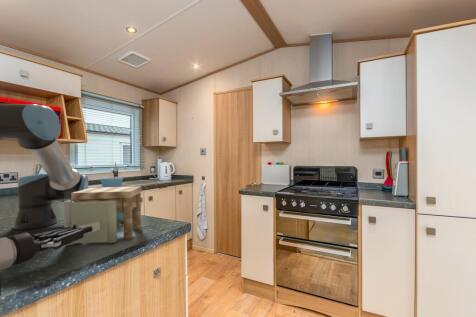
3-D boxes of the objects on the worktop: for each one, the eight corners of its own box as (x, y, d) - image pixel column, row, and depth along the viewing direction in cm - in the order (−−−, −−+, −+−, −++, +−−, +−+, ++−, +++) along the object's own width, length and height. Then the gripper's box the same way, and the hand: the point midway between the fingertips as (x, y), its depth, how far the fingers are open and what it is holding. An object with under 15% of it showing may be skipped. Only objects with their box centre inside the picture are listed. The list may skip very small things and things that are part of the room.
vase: (100, 220, 113) (99, 179, 113) (117, 216, 119) (116, 177, 119) (108, 222, 108) (107, 179, 108) (124, 218, 115) (124, 178, 114)
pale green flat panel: (62, 245, 79) (61, 202, 79) (68, 242, 82) (67, 200, 82) (114, 243, 81) (113, 200, 80) (118, 240, 84) (117, 199, 83)
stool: (72, 243, 83) (71, 193, 83) (92, 230, 97) (91, 187, 97) (131, 240, 85) (130, 191, 85) (142, 228, 99) (141, 186, 99)
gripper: (-4, 261, 61) (86, 233, 83) (23, 271, 56) (112, 238, 78) (-4, 233, 61) (85, 212, 83) (23, 240, 56) (111, 216, 77)
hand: (98, 225), depth 80 cm, fingers closed
